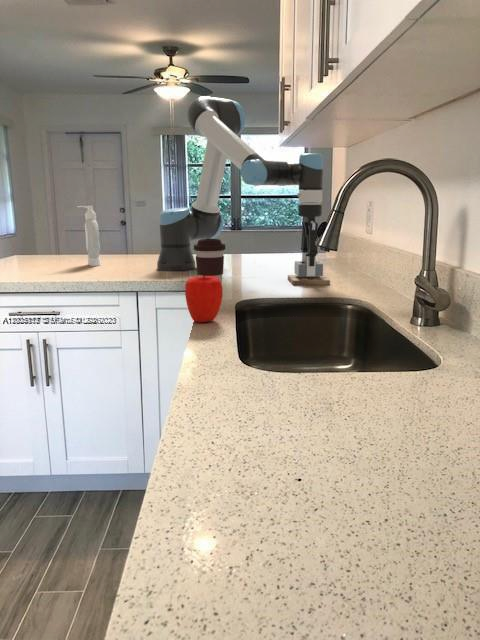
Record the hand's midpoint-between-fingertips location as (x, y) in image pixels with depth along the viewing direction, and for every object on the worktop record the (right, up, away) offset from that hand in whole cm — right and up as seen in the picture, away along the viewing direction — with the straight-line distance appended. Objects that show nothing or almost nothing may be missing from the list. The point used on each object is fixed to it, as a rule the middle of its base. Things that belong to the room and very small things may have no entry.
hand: (308, 273), depth 168 cm
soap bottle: (-86, +8, +45) cm, 97 cm away
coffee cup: (-32, -5, -7) cm, 33 cm away
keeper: (0, -3, +1) cm, 3 cm away
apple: (-31, -16, -50) cm, 61 cm away
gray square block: (0, 0, 0) cm, 0 cm away
